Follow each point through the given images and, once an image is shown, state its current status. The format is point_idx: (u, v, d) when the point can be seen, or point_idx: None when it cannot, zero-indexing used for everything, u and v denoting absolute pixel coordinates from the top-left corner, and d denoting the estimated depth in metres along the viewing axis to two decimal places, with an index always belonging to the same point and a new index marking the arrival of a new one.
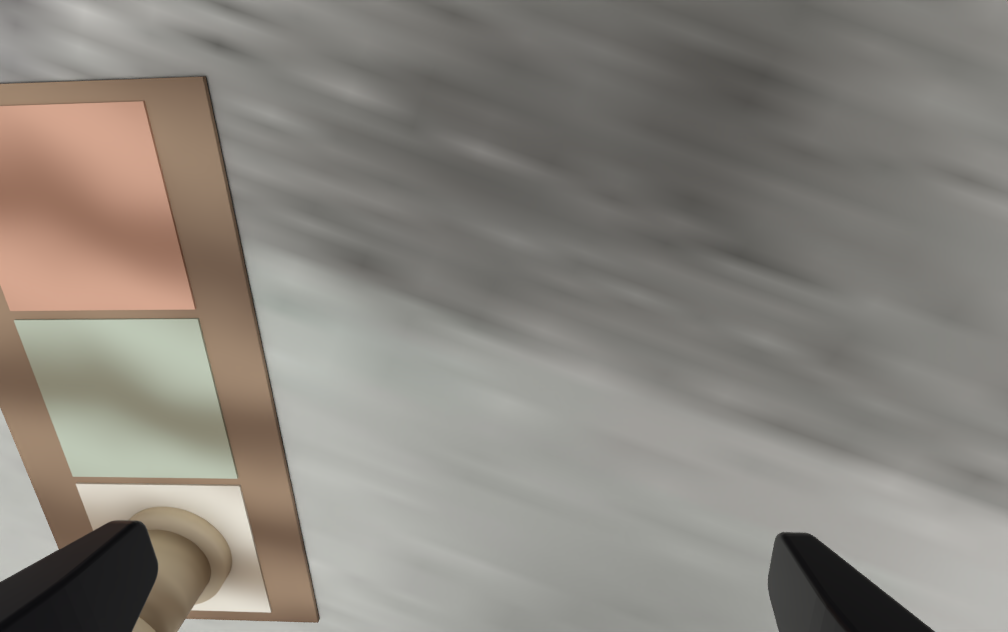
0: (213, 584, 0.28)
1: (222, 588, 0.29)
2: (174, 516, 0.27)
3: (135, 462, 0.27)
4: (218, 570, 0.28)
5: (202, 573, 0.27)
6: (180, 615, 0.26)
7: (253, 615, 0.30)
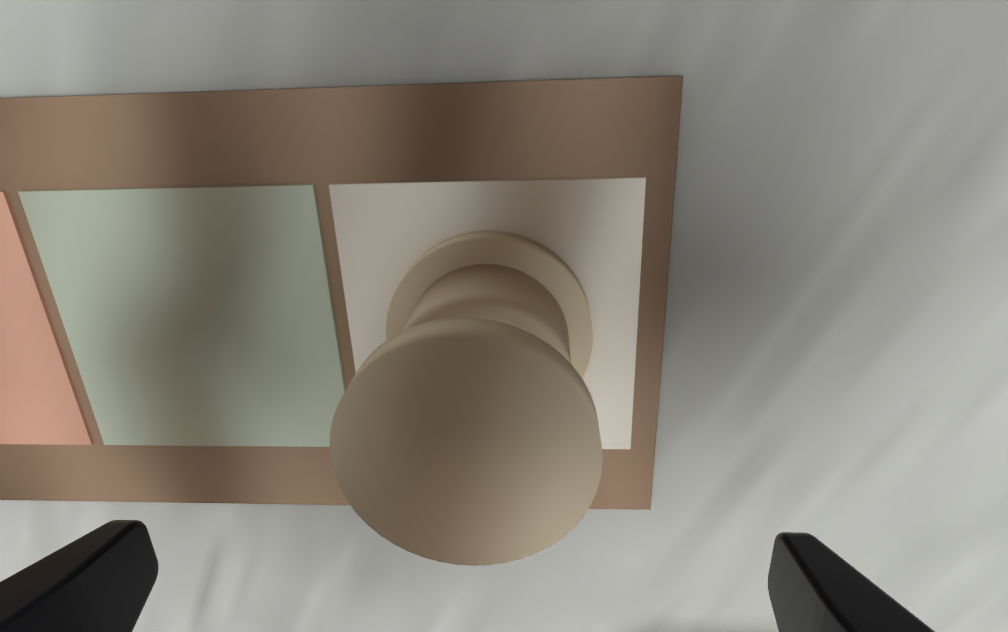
0: (535, 267, 0.14)
1: (579, 265, 0.15)
2: None
3: (313, 350, 0.17)
4: (496, 249, 0.14)
5: (478, 271, 0.14)
6: (488, 303, 0.12)
7: (656, 218, 0.15)
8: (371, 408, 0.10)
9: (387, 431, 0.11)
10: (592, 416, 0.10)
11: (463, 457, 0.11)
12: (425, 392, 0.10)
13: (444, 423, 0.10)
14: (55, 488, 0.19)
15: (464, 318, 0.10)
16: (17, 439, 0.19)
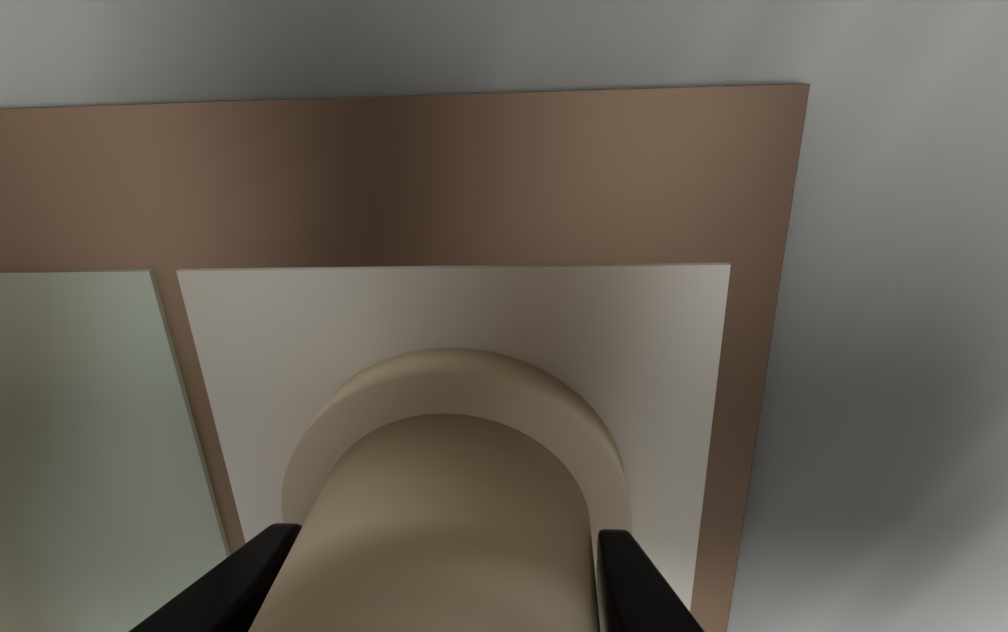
0: (533, 420, 0.08)
1: (609, 403, 0.09)
2: None
3: (180, 519, 0.10)
4: (465, 390, 0.08)
5: (429, 439, 0.08)
6: (435, 551, 0.06)
7: (744, 330, 0.08)
8: None
9: None
10: None
11: None
12: None
13: None
14: None
15: None
16: None
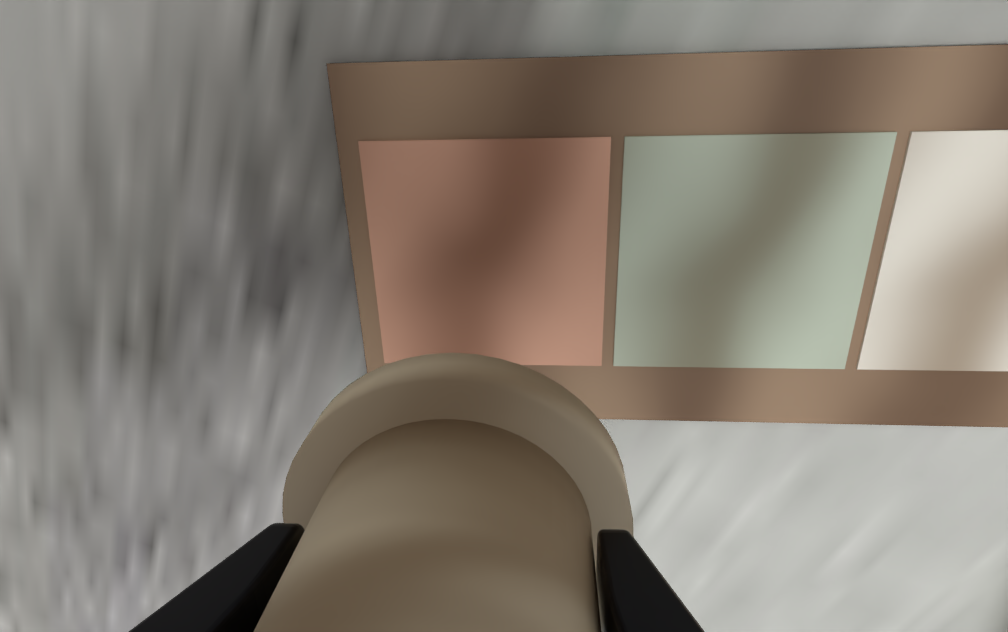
0: (534, 426, 0.08)
1: None
2: None
3: (838, 281, 0.19)
4: (466, 396, 0.08)
5: (431, 444, 0.08)
6: (437, 559, 0.06)
7: None
8: None
9: None
10: None
11: None
12: None
13: None
14: None
15: None
16: (531, 361, 0.21)
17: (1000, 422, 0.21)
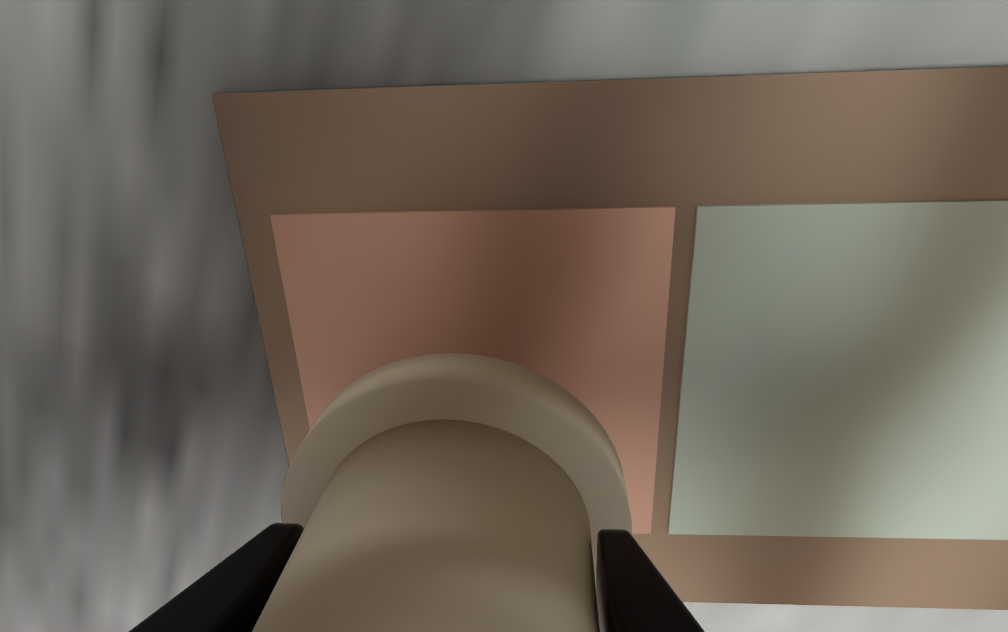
0: (533, 426, 0.08)
1: None
2: None
3: None
4: (464, 395, 0.08)
5: (428, 445, 0.08)
6: (435, 560, 0.06)
7: None
8: None
9: None
10: None
11: None
12: None
13: None
14: None
15: None
16: None
17: None
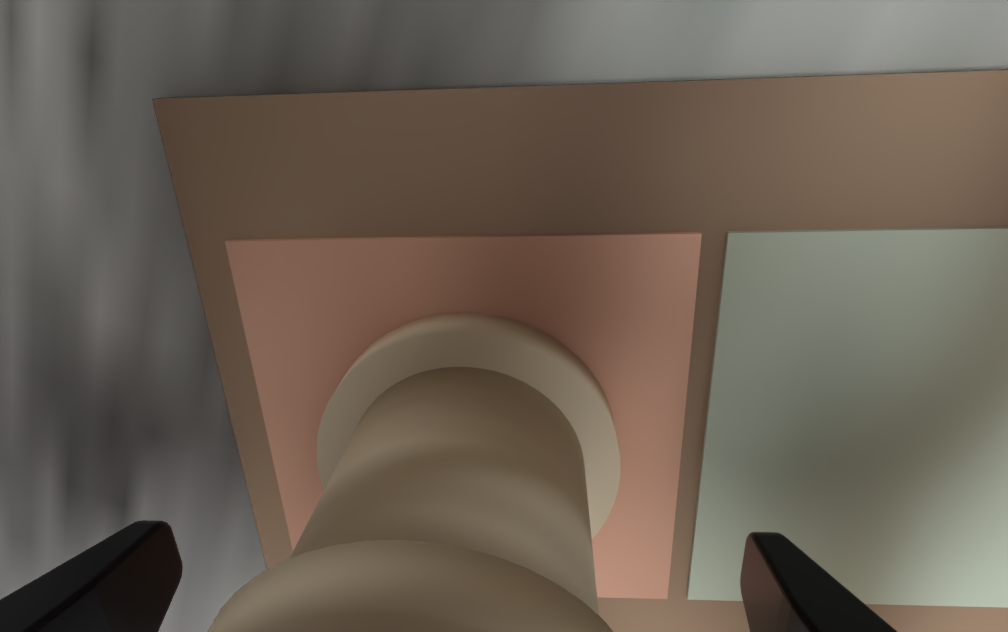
0: (535, 372, 0.10)
1: None
2: None
3: None
4: (477, 346, 0.10)
5: (447, 384, 0.09)
6: (456, 463, 0.07)
7: None
8: None
9: None
10: None
11: None
12: None
13: None
14: None
15: (403, 546, 0.06)
16: None
17: None
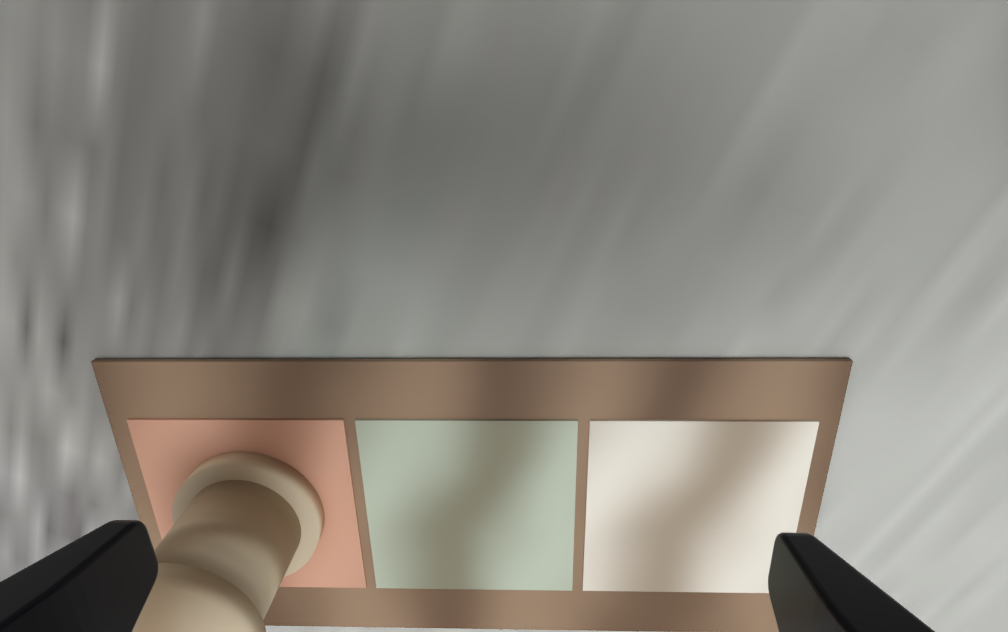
0: (269, 482, 0.21)
1: (764, 474, 0.21)
2: None
3: (554, 525, 0.22)
4: (241, 470, 0.21)
5: (224, 490, 0.20)
6: (208, 531, 0.19)
7: (822, 445, 0.21)
8: None
9: None
10: (241, 627, 0.17)
11: None
12: None
13: (153, 629, 0.17)
14: (326, 617, 0.25)
15: (166, 565, 0.17)
16: (305, 583, 0.24)
17: (709, 629, 0.24)
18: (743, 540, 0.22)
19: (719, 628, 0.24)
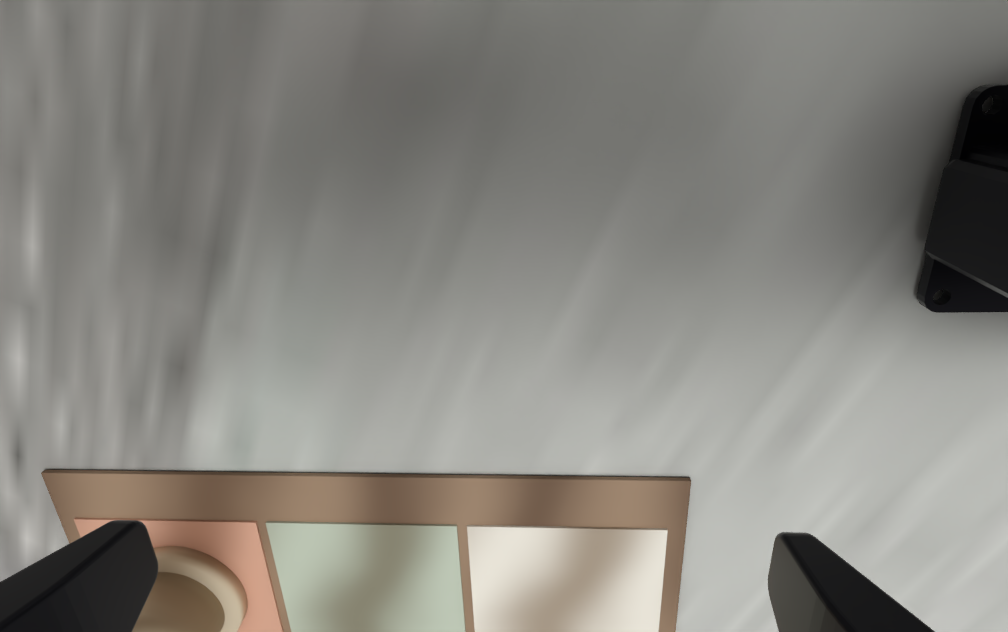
0: (194, 574, 0.24)
1: (624, 572, 0.24)
2: None
3: (446, 609, 0.25)
4: (169, 565, 0.24)
5: None
6: None
7: (673, 549, 0.23)
8: None
9: None
10: None
11: None
12: None
13: None
14: None
15: None
16: None
17: None
18: (613, 625, 0.25)
19: None
